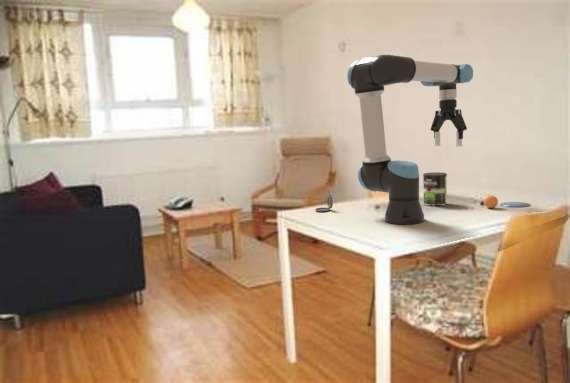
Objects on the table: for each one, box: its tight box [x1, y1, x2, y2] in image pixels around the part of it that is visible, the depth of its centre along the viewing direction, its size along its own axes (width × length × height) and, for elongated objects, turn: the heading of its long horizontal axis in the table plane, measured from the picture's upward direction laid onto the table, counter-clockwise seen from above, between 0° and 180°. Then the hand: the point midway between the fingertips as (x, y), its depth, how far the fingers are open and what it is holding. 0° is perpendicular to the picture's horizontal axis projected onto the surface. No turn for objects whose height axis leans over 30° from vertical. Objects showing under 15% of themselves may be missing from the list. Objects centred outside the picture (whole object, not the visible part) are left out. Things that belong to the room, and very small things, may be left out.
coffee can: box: [422, 171, 448, 206], centre depth 223 cm, size 10×10×14 cm
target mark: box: [499, 201, 532, 208], centre depth 211 cm, size 12×12×1 cm
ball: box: [483, 194, 499, 209], centre depth 207 cm, size 6×6×6 cm
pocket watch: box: [315, 189, 334, 213], centre depth 224 cm, size 8×8×10 cm
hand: (448, 146), depth 226 cm, fingers open, 13 cm apart
